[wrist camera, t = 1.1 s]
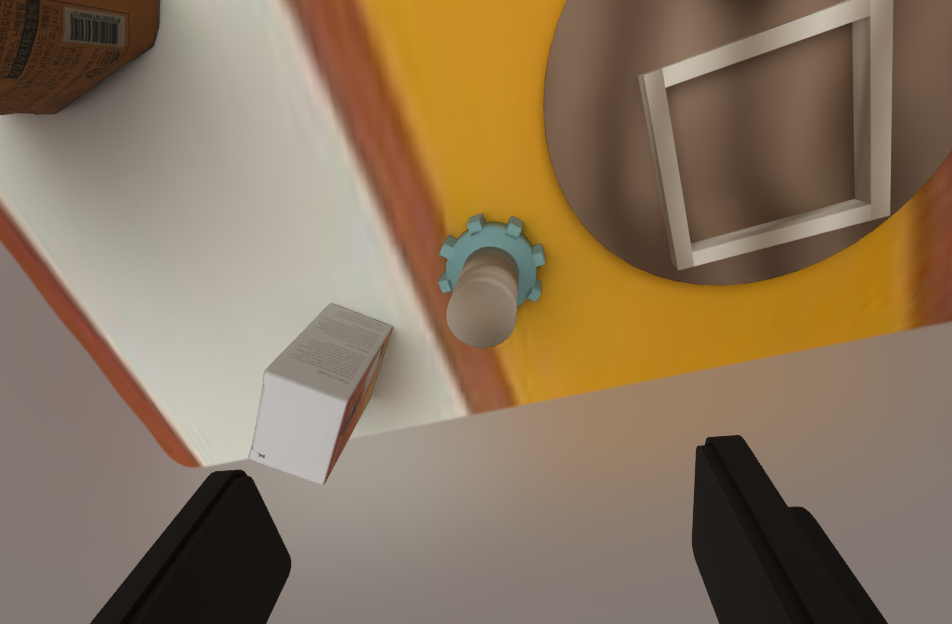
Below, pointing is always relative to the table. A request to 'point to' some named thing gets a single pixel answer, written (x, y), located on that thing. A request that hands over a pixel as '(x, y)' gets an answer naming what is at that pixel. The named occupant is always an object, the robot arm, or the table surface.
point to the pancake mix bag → (67, 48)
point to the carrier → (745, 126)
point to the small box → (318, 393)
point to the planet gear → (489, 279)
